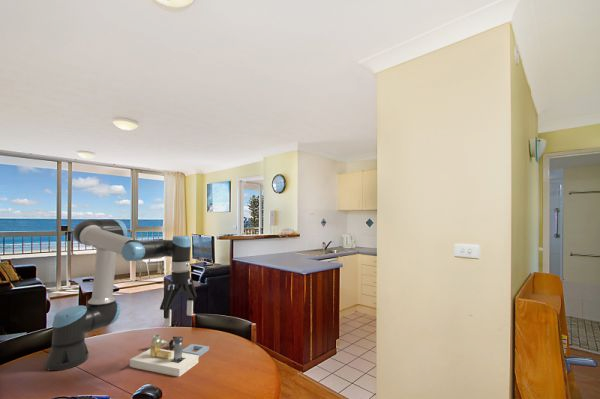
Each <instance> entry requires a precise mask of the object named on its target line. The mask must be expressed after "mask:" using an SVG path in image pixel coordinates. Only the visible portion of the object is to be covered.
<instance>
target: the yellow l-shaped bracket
mask: <svg viewBox="0 0 600 399" xmlns="http://www.w3.org/2000/svg"><path fill="white" fill-rule="evenodd" d="M161 347H162V346H161V343H159V342H156V343H154V344H152V345H151V344H150V349H151V350H150V356H151V357H161V358H166V359H168V358H170V357H171V353H172V352H168V351H162V350H160V349H161Z"/></svg>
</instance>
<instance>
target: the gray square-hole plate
mask: <svg viewBox="0 0 600 399" xmlns="http://www.w3.org/2000/svg"><path fill="white" fill-rule="evenodd" d="M194 350H197V351H194ZM209 350H210V346H209V345H203V344H196V343H195V344H194V343H191V344H189V345H188V346H187V347H185V348H182V353H187V354H193V355H199V358H200V357H201V356H202V355H204V354H205V353H207V352H208V351H209Z"/></svg>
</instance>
